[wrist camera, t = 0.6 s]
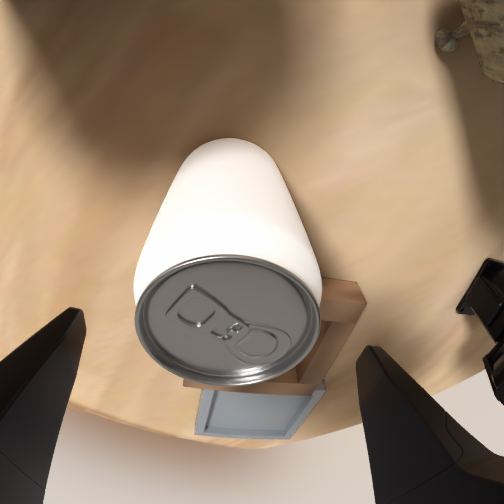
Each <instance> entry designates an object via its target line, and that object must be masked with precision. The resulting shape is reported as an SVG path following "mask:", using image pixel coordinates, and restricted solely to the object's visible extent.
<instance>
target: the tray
mask: <svg viewBox="0 0 504 504" xmlns="http://www.w3.org/2000/svg"><path fill="white" fill-rule="evenodd" d="M325 391H326V388H325V384H324V380H323V379H322V380H321V382H320V383H319V385H318V386H317V388H316V389H315V391H314V392H313V394H312V395H311V396H298V395H271V394H254V393H240V392H228V391H218V390H209V389H202V392H201V397H200V402H199V407H198V412H197V417H196V422H195V435H203V436H213V437H226V438H244V439H290V438H291V437H292V436H293V434H294V433H295V432H296V431H297V429H298V428H299V427H300V425H301V424H302V423H303V421H304V420H305V419H306V418H307V416H308V415H309V413H310V412H311V411H312V409H313V408H314V407H315V405H316V404H317V403H318V401H319V400H320V398H321V397H322V396H323V394H324V393H325Z"/></svg>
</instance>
